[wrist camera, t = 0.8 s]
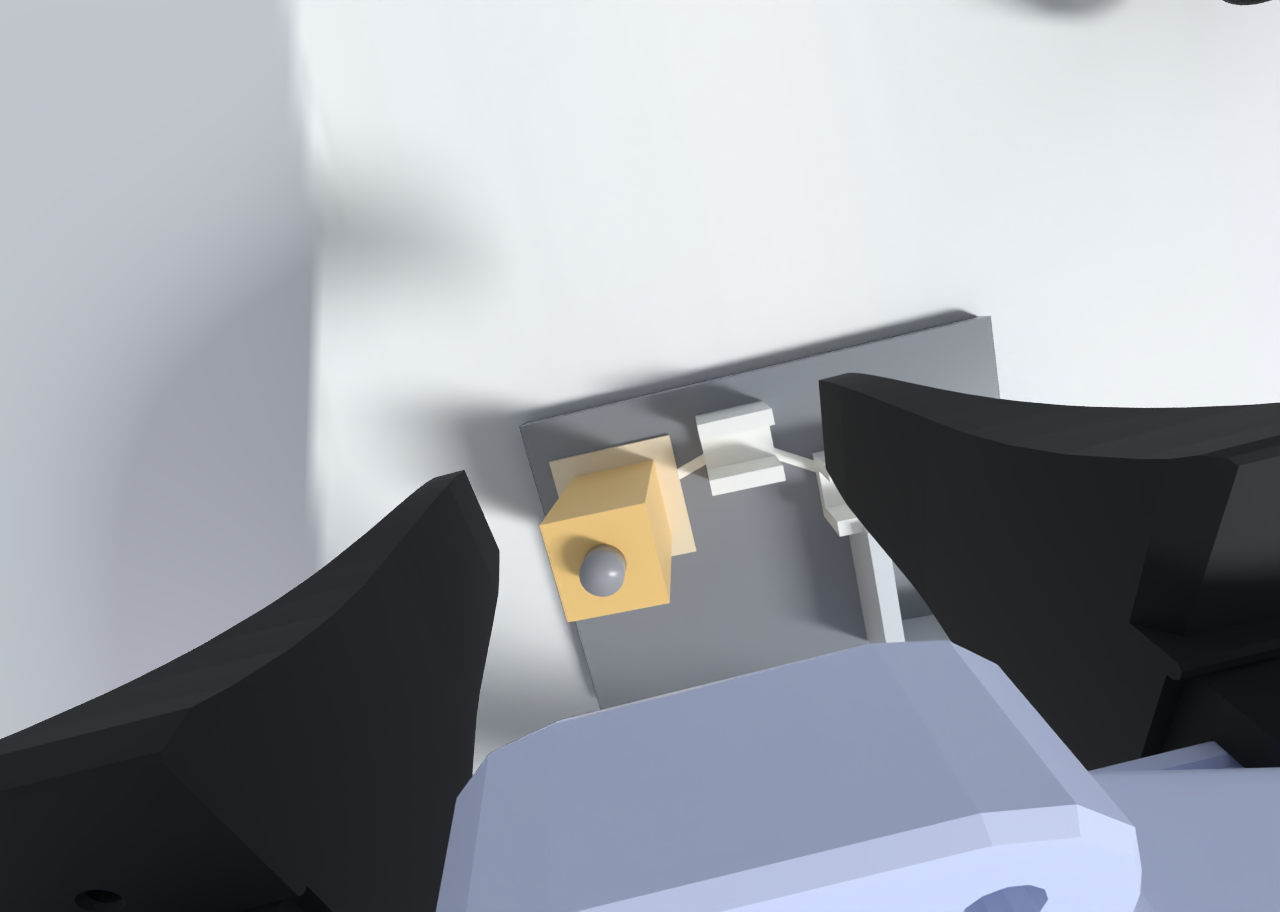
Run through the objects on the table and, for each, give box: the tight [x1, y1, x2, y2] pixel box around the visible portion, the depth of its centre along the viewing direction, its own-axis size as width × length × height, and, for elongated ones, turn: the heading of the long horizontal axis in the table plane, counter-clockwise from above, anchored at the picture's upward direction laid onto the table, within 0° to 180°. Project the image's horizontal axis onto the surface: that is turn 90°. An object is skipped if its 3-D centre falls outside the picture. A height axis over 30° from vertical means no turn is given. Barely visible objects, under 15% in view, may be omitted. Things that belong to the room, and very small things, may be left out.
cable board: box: [520, 316, 1000, 710], centre depth 27 cm, size 16×22×4 cm
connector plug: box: [539, 460, 672, 622], centre depth 24 cm, size 4×4×8 cm
